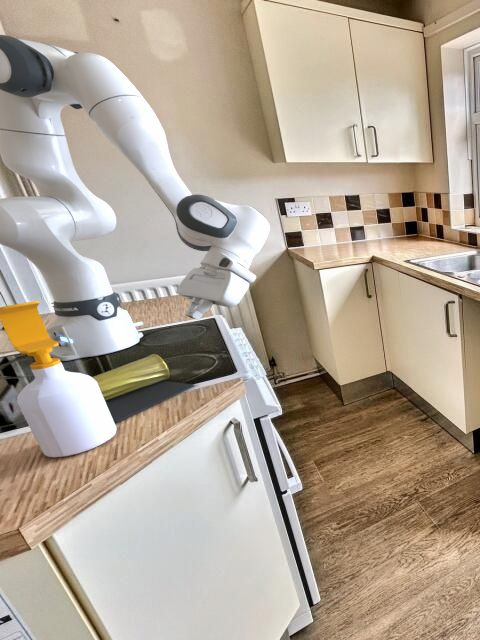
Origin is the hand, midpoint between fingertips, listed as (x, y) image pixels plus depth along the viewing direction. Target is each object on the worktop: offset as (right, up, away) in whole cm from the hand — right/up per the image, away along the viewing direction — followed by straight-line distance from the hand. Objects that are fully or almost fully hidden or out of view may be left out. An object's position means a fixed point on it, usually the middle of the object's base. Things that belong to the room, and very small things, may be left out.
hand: (192, 317), depth 97 cm
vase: (-4, -11, -4) cm, 12 cm away
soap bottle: (+1, -23, -25) cm, 34 cm away
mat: (-6, -17, -10) cm, 21 cm away
